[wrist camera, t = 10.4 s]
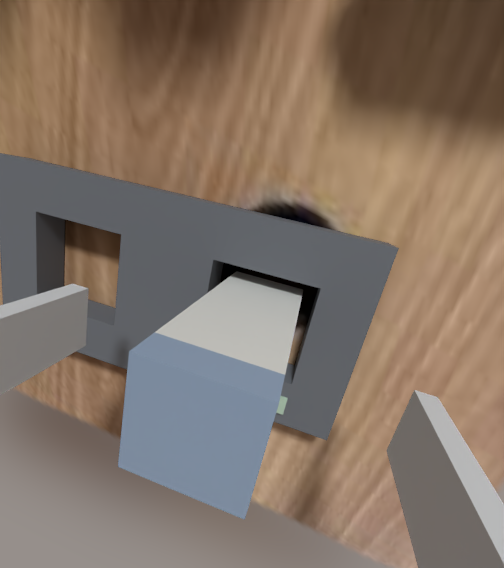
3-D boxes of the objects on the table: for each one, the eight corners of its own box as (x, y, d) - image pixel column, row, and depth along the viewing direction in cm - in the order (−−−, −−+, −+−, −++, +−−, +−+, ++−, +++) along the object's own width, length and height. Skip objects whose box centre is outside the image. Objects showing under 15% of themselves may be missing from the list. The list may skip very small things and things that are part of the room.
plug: (224, 331, 18) (117, 466, 9) (236, 271, 17) (129, 351, 7) (286, 350, 17) (244, 519, 8) (303, 289, 16) (278, 402, 7)
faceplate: (32, 315, 21) (1, 327, 19) (29, 158, 18) (-9, 151, 16) (326, 416, 18) (326, 443, 16) (388, 243, 15) (399, 249, 12)
